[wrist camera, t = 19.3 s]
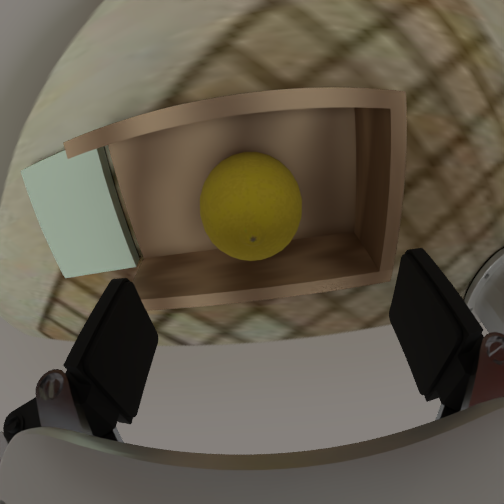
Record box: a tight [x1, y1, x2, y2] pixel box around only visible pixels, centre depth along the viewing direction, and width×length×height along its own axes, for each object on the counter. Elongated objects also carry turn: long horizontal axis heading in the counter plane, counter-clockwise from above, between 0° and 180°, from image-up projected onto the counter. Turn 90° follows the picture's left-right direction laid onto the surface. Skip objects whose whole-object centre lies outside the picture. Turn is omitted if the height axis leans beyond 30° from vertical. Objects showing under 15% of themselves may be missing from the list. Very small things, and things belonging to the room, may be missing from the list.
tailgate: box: [21, 146, 140, 278], centre depth 19 cm, size 2×11×8 cm
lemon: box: [200, 152, 302, 261], centre depth 15 cm, size 6×6×8 cm
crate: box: [64, 87, 407, 310], centre depth 17 cm, size 18×12×6 cm, turn 97°
